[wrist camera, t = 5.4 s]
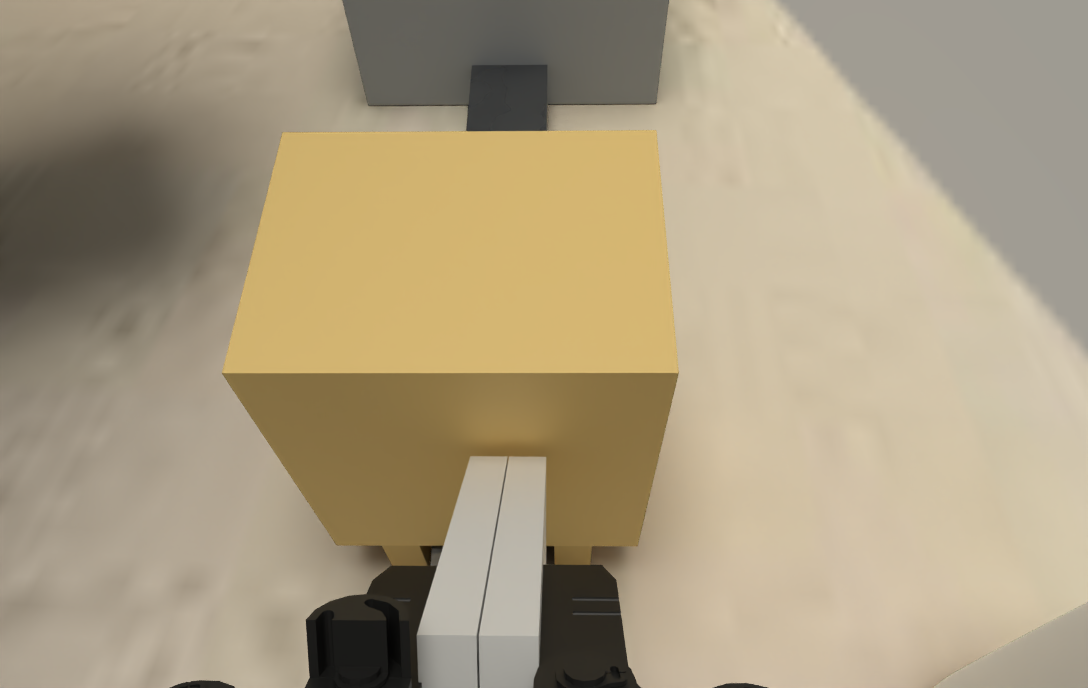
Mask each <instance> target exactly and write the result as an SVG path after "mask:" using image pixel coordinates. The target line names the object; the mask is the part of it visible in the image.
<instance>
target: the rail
mask: <svg viewBox="0 0 1088 688" xmlns="http://www.w3.org/2000/svg"><path fill="white" fill-rule="evenodd" d="M466 131H548V74H547V65H472V69H471V81H470V93H469V105H468V117H467V129H466ZM442 549H443V546H432V553H431V565H430V566H438V562H439V559H440V556H441V552H442Z"/></svg>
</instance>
